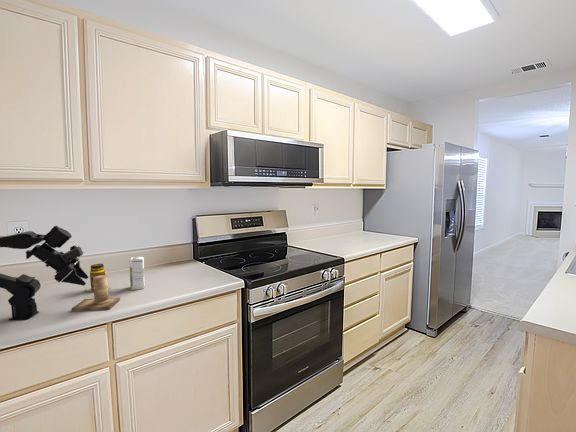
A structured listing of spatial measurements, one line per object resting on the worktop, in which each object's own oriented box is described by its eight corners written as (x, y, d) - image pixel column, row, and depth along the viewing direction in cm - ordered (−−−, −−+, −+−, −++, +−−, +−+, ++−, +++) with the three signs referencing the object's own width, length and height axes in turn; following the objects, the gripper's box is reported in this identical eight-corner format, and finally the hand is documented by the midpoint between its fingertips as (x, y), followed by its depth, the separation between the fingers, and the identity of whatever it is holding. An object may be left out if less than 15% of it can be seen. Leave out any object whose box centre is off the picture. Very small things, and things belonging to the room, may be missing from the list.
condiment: (95, 293, 143) (93, 267, 142) (84, 290, 147) (83, 265, 146) (110, 288, 150) (109, 263, 149) (100, 285, 154) (98, 261, 153)
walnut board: (71, 311, 123) (71, 308, 123) (85, 301, 133) (84, 298, 133) (109, 309, 125) (109, 306, 125) (120, 300, 135) (120, 297, 135)
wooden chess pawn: (90, 305, 126) (88, 279, 125) (97, 299, 132) (95, 275, 131) (106, 304, 126) (104, 279, 125) (112, 299, 132) (111, 274, 131)
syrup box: (131, 286, 152) (130, 257, 151) (145, 285, 154) (143, 256, 153) (130, 290, 147) (128, 259, 146) (144, 288, 149) (142, 258, 148)
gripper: (63, 245, 114) (100, 271, 120) (71, 237, 130) (103, 260, 136) (37, 268, 111) (77, 294, 117) (49, 257, 127) (83, 280, 133)
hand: (86, 281), depth 126 cm, fingers open, 9 cm apart
